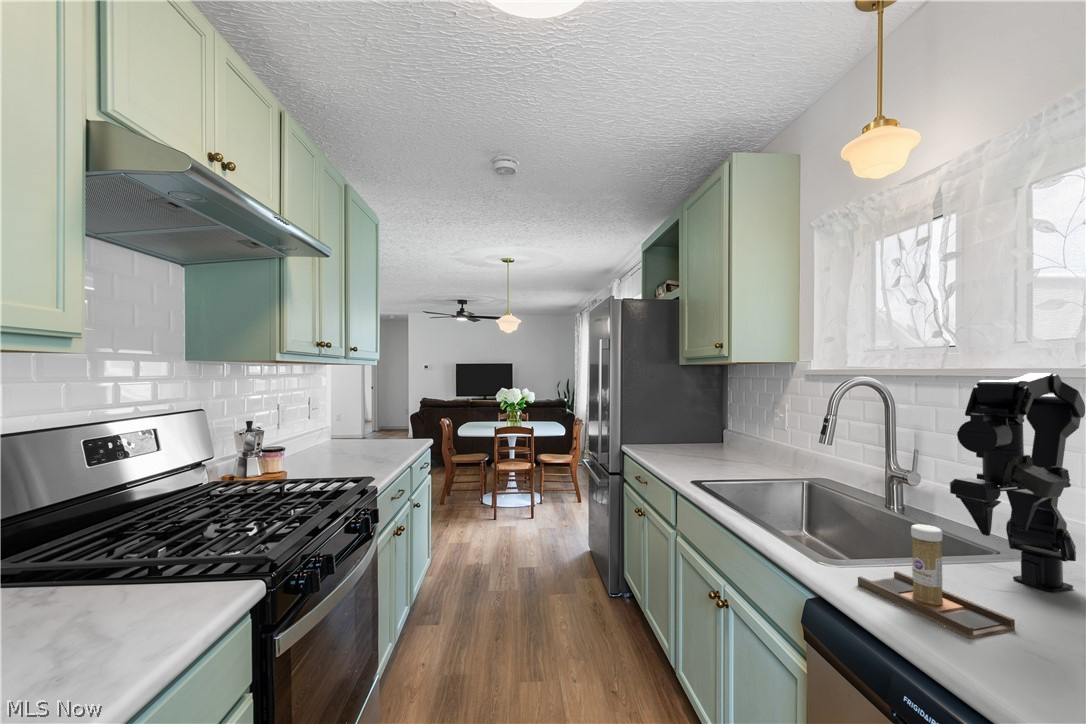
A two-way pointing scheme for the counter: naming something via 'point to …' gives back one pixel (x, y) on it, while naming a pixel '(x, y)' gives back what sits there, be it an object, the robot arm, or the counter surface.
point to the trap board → (941, 608)
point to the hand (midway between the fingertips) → (1004, 532)
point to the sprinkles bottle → (927, 564)
